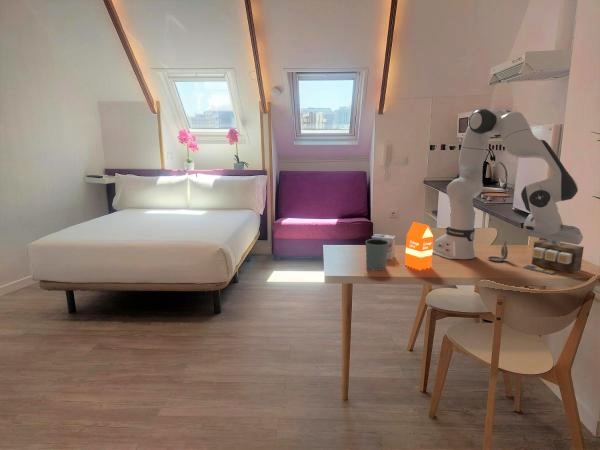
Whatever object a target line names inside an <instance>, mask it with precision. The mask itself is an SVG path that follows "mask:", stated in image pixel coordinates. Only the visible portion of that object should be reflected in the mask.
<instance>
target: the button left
mask: <svg viewBox="0 0 600 450" xmlns="http://www.w3.org/2000/svg"><path fill="white" fill-rule="evenodd" d="M547 249H548V248H545V247H540V246H538V247H535V248H534V247H533V248H532V257H536V258H540V259H542V258H545V252H546V250H547ZM532 257H531V258H532Z"/></svg>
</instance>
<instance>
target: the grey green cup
mask: <svg viewBox="0 0 600 450" xmlns="http://www.w3.org/2000/svg"><path fill="white" fill-rule="evenodd" d="M387 250H388V241H386V240H381V239H372V238H371V239H370V238H369V239H367V240H365V253H366V255H365V257H366V258H365V260H366V261H365V263H366V264H365V266H366V268H367V269H368V268H369V270H371V269H374V270H373V271H380V270H379V269H383V270H385V269H386V265H387V259H386V258H387ZM384 268H385V269H384Z"/></svg>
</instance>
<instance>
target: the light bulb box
mask: <svg viewBox="0 0 600 450" xmlns="http://www.w3.org/2000/svg"><path fill="white" fill-rule="evenodd" d="M371 239H381V240H386V241H388V250H387V258H386V260H387V259H391V260H390V261H393V259H394V258H393V257H395V251H396V250H395V248H396V235H392V234H379V233H374V234H373V235H371Z"/></svg>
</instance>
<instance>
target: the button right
mask: <svg viewBox="0 0 600 450" xmlns="http://www.w3.org/2000/svg"><path fill="white" fill-rule="evenodd" d="M573 255H574V253H571V252H566V251H563V252H560V253H559V254H558V261H557V262H559V263H564V264H569V263H571V262H573Z"/></svg>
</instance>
